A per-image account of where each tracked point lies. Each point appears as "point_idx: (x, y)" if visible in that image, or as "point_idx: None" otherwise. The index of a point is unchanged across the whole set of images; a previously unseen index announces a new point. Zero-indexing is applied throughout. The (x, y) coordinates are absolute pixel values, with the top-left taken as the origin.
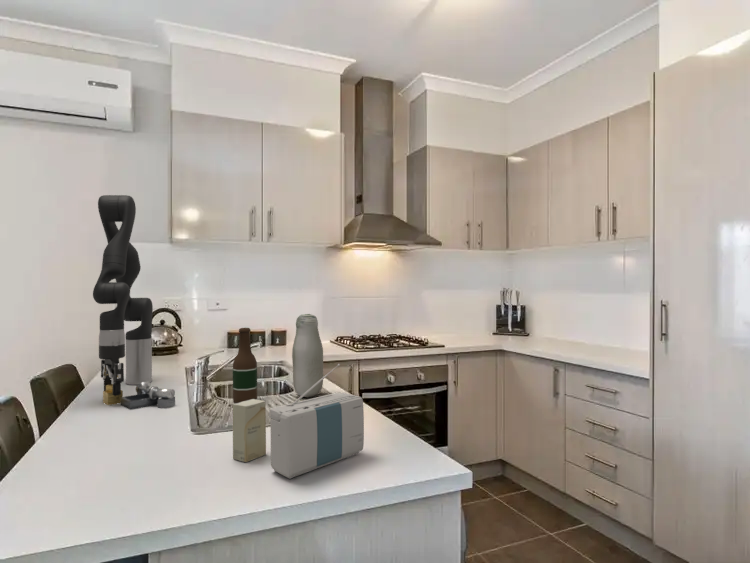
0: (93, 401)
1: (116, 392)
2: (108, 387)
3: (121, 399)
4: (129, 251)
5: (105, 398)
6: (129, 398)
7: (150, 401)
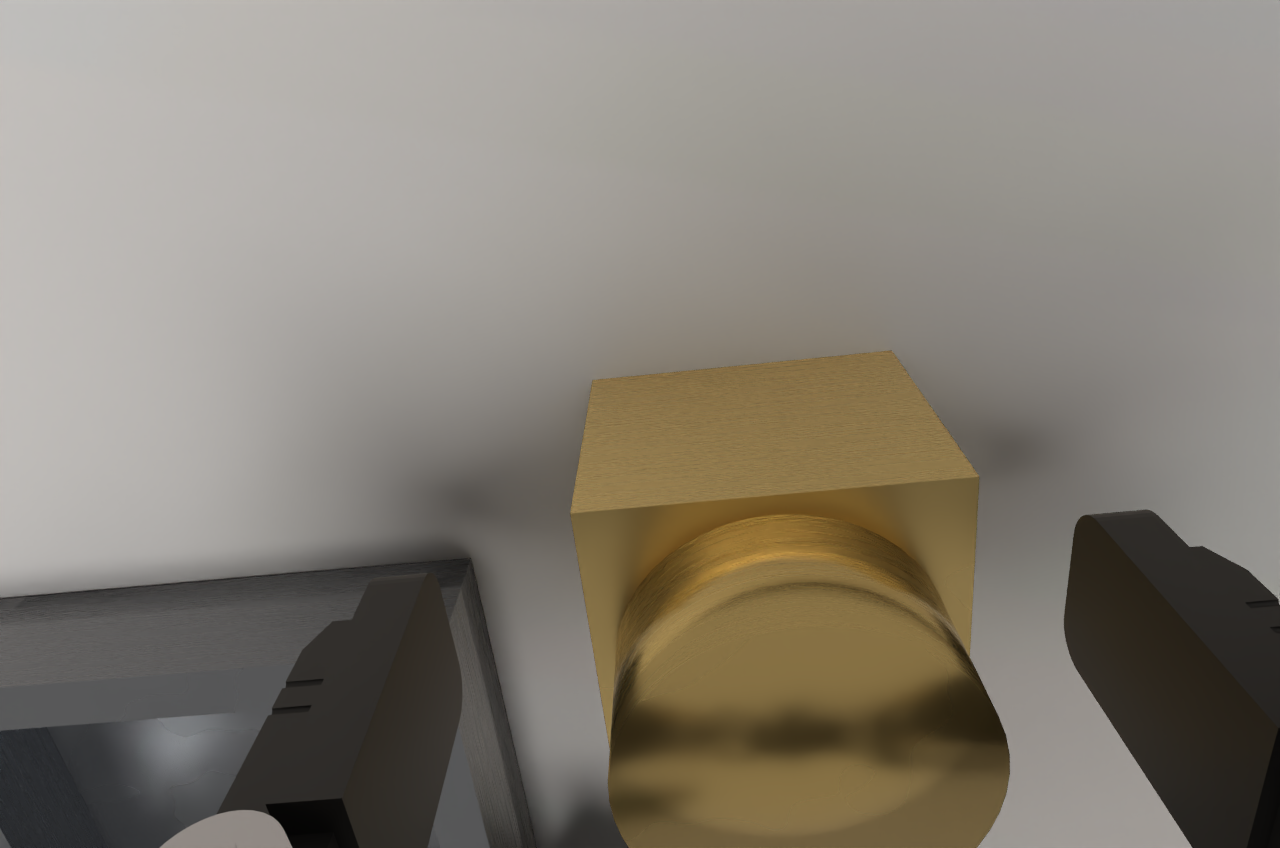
0: (1237, 216)
1: (310, 670)
2: (673, 634)
3: None
4: None
5: (743, 417)
6: None
7: None
